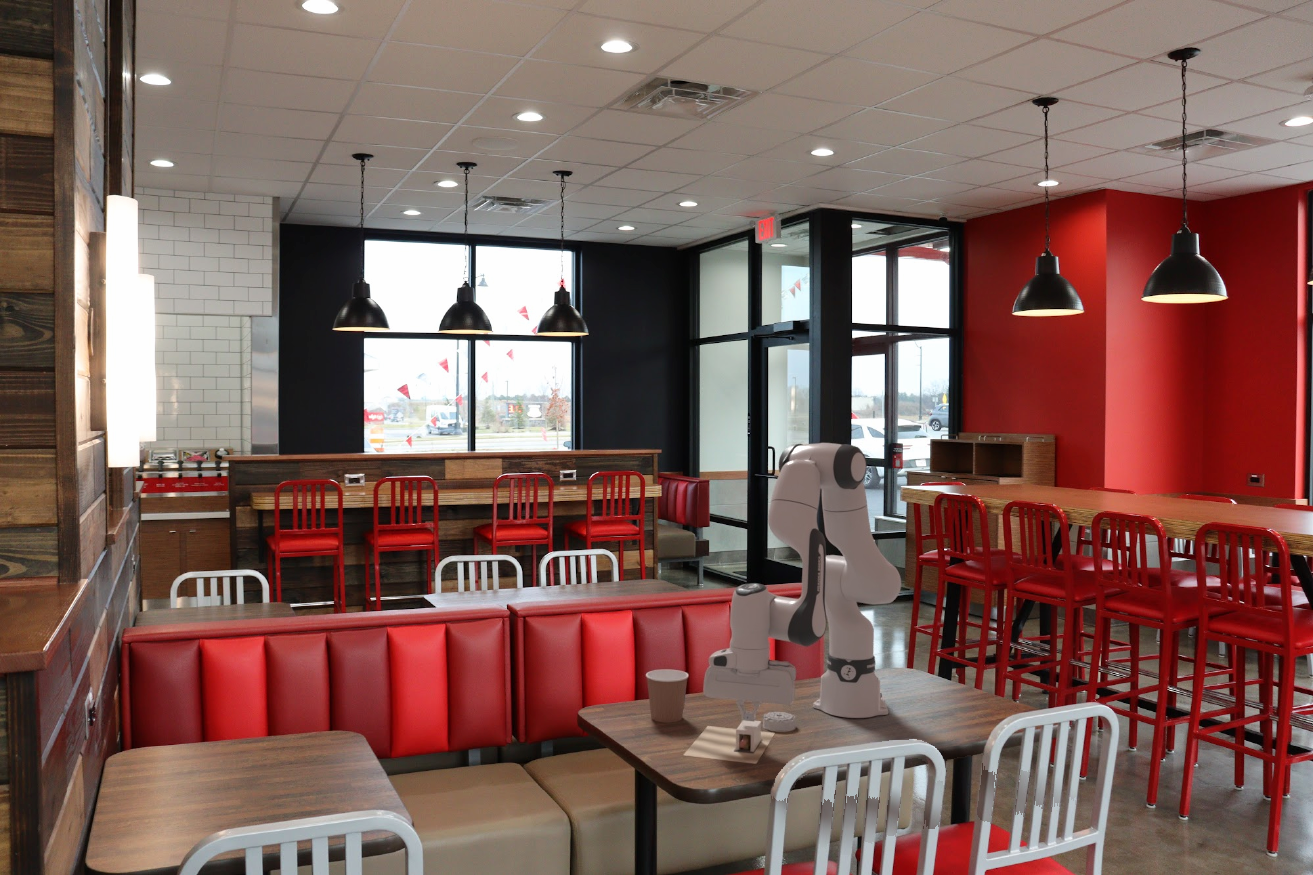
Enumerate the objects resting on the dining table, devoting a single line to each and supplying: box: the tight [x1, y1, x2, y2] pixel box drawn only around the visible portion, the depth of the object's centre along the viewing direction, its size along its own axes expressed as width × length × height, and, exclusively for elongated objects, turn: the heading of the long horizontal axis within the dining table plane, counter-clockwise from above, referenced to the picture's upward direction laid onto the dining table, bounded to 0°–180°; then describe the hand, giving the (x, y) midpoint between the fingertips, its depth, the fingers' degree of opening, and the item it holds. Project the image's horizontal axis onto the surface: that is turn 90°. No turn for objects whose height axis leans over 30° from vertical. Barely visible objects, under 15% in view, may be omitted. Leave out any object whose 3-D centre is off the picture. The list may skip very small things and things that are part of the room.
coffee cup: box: [645, 668, 689, 724], centre depth 247 cm, size 10×10×12 cm
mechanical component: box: [762, 711, 797, 733], centre depth 241 cm, size 10×4×10 cm
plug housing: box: [735, 720, 762, 752], centre depth 225 cm, size 11×4×4 cm, turn 163°
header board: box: [682, 725, 776, 765], centre depth 228 cm, size 22×16×4 cm
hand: (748, 720), depth 227 cm, fingers closed
